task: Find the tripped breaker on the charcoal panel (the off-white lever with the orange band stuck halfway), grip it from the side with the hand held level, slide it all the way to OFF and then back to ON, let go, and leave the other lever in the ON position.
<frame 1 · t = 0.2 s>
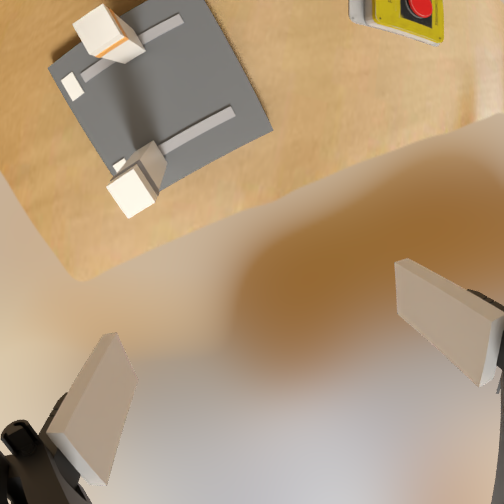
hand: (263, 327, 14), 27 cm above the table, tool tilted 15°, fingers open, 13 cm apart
emergency button: (395, 5, 29), on the table
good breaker: (142, 172, 27), point 9 cm above the table, slide at 0.0 cm
tripped breaker: (115, 39, 20), point 9 cm above the table, slide at 4.0 cm
panel: (158, 90, 31), on the table
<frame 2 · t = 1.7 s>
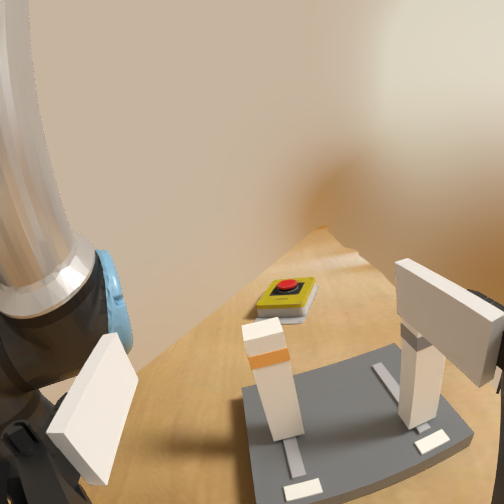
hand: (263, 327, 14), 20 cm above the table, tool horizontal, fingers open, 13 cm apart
emergency button: (289, 307, 60), on the table
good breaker: (422, 368, 22), point 9 cm above the table, slide at 0.0 cm
tripped breaker: (276, 385, 26), point 9 cm above the table, slide at 4.0 cm
panel: (346, 427, 28), on the table
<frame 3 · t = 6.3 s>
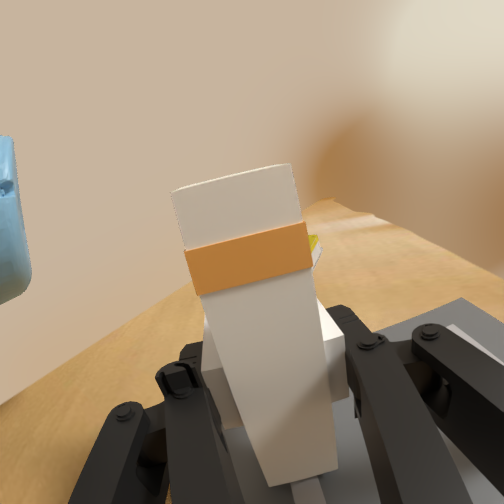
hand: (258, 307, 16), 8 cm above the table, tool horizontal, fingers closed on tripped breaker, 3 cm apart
tripped breaker: (273, 357, 10), point 9 cm above the table, slide at 4.0 cm, touching gripper
panel: (412, 445, 13), on the table
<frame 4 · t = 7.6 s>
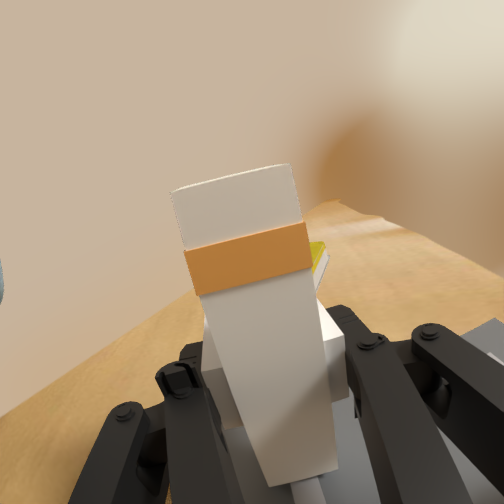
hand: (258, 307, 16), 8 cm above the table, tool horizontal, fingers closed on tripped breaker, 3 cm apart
emergency button: (288, 283, 41), on the table
tripped breaker: (273, 357, 10), point 9 cm above the table, slide at 8.2 cm, touching gripper
panel: (447, 498, 9), on the table
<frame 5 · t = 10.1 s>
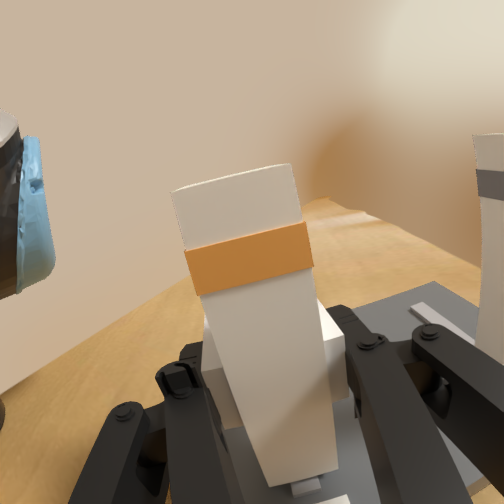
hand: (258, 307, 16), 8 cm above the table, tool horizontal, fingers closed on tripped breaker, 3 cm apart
tripped breaker: (273, 357, 10), point 9 cm above the table, slide at -0.2 cm, touching gripper
panel: (383, 401, 17), on the table
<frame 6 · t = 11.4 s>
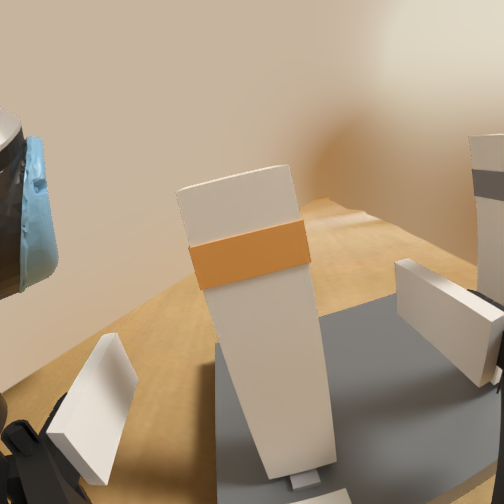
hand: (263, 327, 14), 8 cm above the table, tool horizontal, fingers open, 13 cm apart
tripped breaker: (273, 351, 11), point 9 cm above the table, slide at -0.1 cm
panel: (381, 397, 17), on the table
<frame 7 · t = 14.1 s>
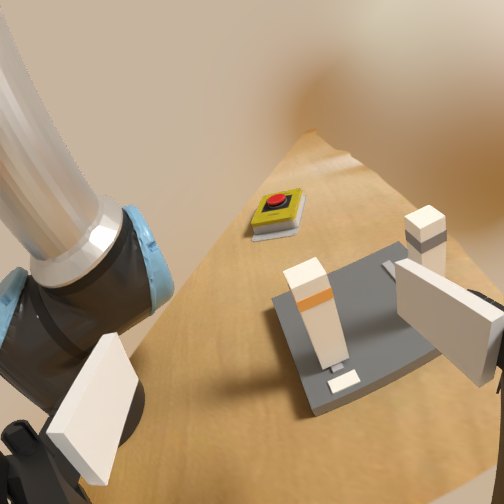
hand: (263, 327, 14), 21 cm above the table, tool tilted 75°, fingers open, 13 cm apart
emergency button: (281, 219, 65), on the table
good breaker: (427, 266, 28), point 9 cm above the table, slide at 0.0 cm
tripped breaker: (320, 319, 29), point 9 cm above the table, slide at -0.1 cm
panel: (368, 321, 36), on the table
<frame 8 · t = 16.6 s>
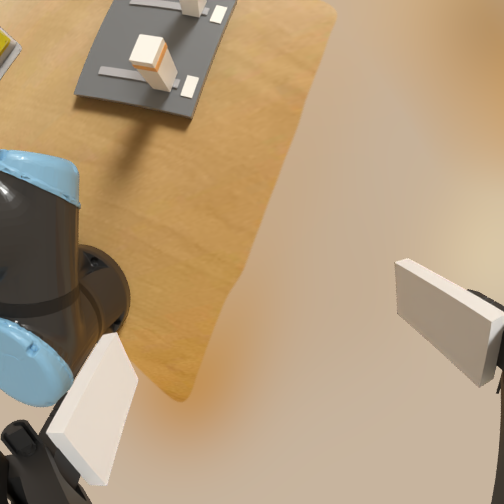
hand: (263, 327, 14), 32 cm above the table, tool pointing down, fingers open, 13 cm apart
tripped breaker: (156, 66, 30), point 9 cm above the table, slide at -0.1 cm
panel: (155, 43, 37), on the table
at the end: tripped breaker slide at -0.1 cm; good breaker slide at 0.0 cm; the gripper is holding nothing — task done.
